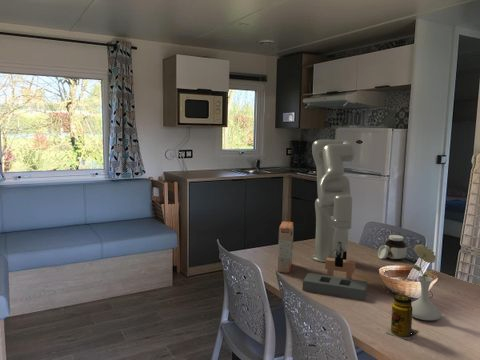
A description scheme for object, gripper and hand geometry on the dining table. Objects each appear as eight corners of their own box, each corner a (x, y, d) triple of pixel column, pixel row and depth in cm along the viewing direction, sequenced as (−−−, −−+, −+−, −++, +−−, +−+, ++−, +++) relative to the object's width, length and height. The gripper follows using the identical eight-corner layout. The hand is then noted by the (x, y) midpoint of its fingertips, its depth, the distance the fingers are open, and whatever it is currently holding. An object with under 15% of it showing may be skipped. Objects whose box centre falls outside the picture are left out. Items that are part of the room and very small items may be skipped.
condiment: (386, 333, 132) (388, 297, 131) (395, 324, 138) (397, 289, 137) (409, 341, 127) (411, 304, 126) (418, 331, 134) (420, 295, 132)
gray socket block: (308, 281, 176) (308, 272, 175) (366, 290, 167) (367, 281, 166) (302, 290, 167) (302, 280, 166) (364, 300, 157) (364, 290, 157)
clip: (326, 277, 182) (327, 257, 181) (354, 281, 177) (355, 261, 176) (324, 280, 178) (325, 260, 177) (353, 284, 173) (354, 263, 172)
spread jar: (408, 260, 207) (409, 237, 206) (394, 264, 201) (395, 240, 199) (387, 254, 217) (389, 232, 216) (374, 257, 211) (375, 235, 209)
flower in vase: (448, 322, 140) (453, 251, 137) (417, 324, 138) (422, 252, 135) (425, 306, 153) (429, 240, 150) (396, 308, 151) (400, 241, 148)
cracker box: (290, 273, 186) (291, 228, 183) (277, 272, 187) (278, 227, 184) (292, 263, 199) (294, 221, 197) (280, 262, 200) (281, 220, 198)
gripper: (336, 219, 184) (335, 257, 185) (329, 227, 168) (328, 268, 169) (353, 221, 181) (352, 259, 182) (348, 228, 165) (346, 270, 167)
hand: (340, 263), depth 176 cm, fingers open, 9 cm apart
